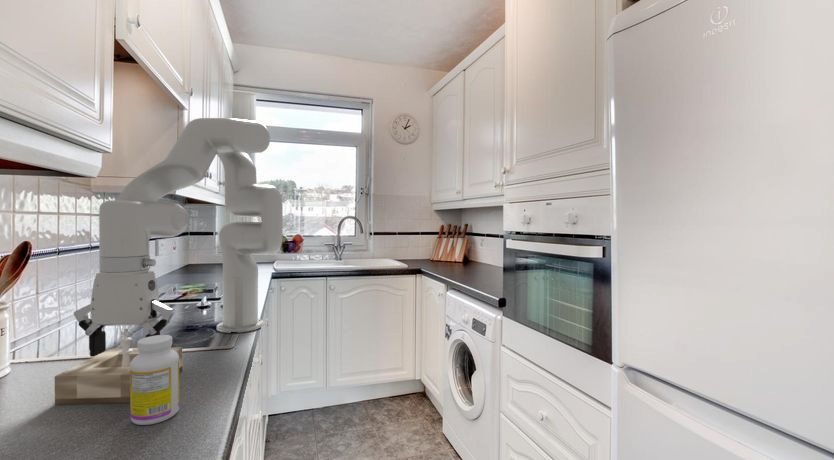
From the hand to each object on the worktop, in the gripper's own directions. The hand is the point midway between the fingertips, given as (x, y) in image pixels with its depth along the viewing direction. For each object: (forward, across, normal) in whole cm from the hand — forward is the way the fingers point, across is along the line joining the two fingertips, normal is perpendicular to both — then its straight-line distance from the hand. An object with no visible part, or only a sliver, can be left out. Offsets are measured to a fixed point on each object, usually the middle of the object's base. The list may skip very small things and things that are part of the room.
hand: (125, 353), depth 72 cm
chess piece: (+5, 0, 0) cm, 6 cm away
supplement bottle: (+6, -12, +12) cm, 18 cm away
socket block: (+6, 0, 0) cm, 6 cm away
